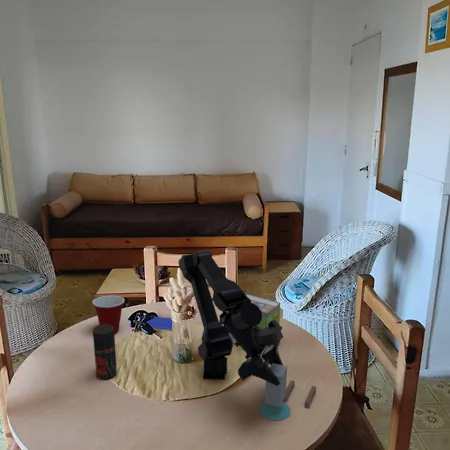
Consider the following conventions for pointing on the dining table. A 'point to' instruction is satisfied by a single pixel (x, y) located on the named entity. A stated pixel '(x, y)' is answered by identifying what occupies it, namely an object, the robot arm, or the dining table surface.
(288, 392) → the pair of brown bars
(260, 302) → the tea box
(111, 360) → the deodorant
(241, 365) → the robot arm
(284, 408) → the pad
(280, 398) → the grey block
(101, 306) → the plastic cup
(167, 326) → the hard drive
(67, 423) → the dining table surface
